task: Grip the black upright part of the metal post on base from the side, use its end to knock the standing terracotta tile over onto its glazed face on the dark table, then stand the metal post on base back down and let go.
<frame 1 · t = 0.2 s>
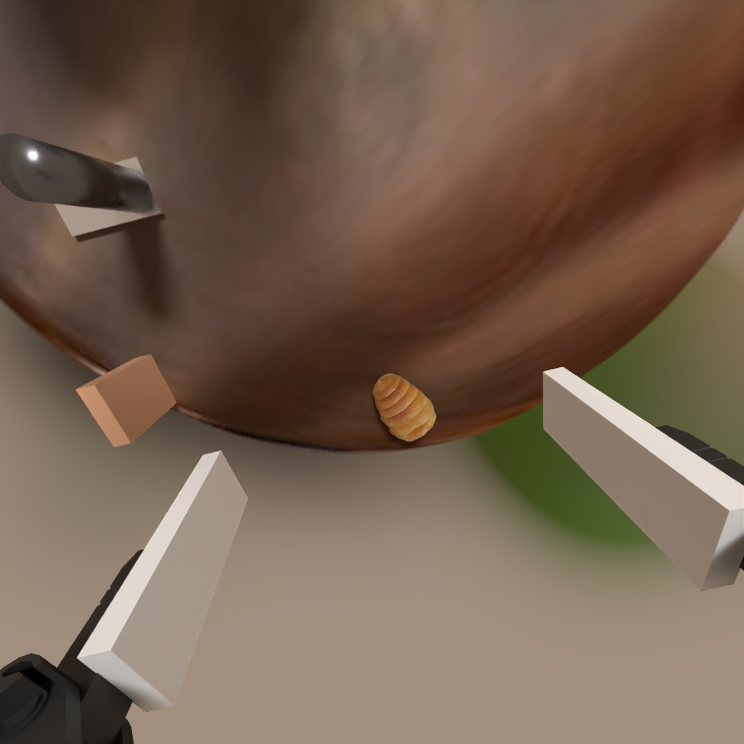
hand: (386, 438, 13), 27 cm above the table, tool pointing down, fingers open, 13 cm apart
tile: (157, 381, 41), on the table
pastry: (401, 404, 44), on the table
metal post on base: (134, 191, 33), on the table
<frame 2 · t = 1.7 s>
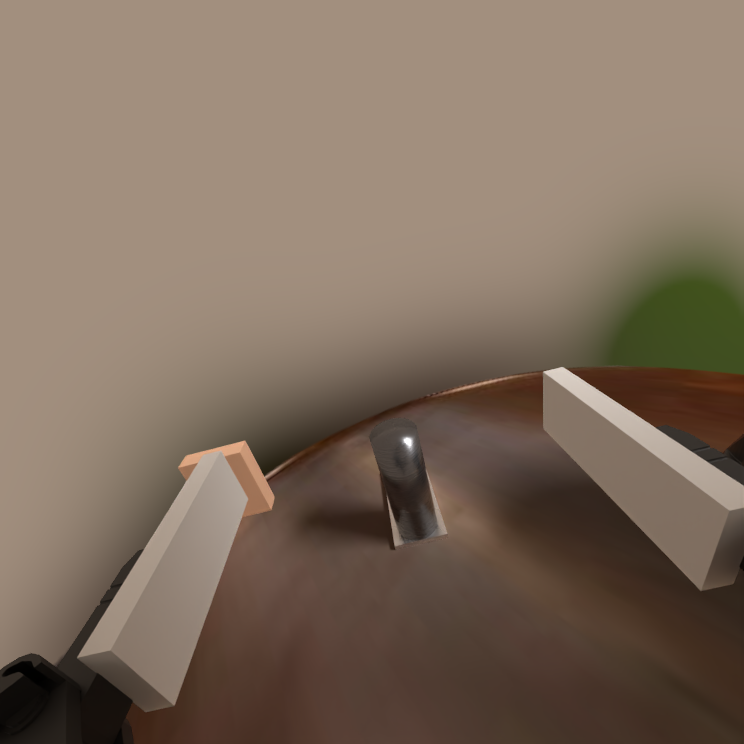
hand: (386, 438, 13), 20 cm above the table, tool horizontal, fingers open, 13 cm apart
tile: (245, 510, 39), on the table
metal post on base: (417, 525, 31), on the table
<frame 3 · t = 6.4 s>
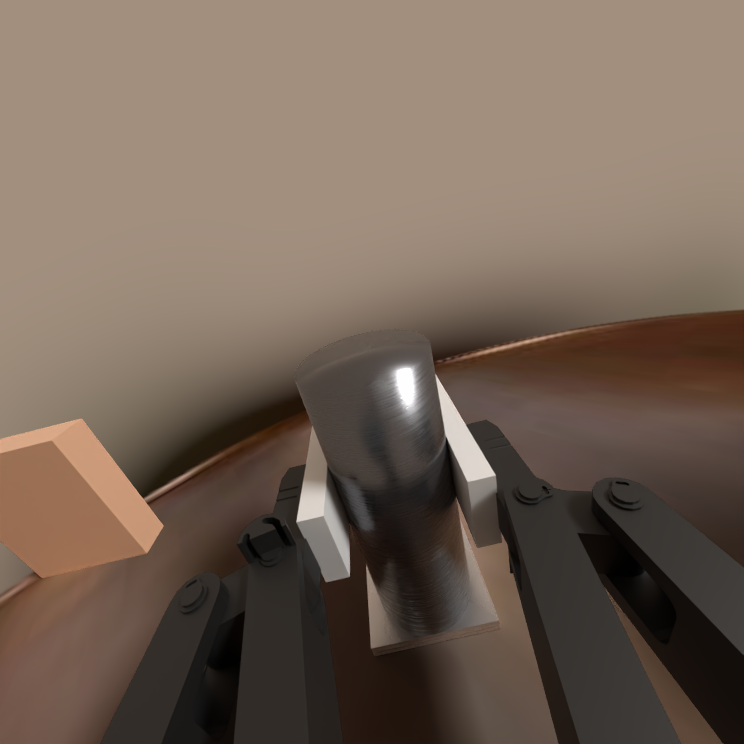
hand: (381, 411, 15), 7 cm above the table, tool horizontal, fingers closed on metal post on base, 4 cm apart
tile: (105, 551, 21), on the table
metal post on base: (425, 589, 14), on the table, touching gripper
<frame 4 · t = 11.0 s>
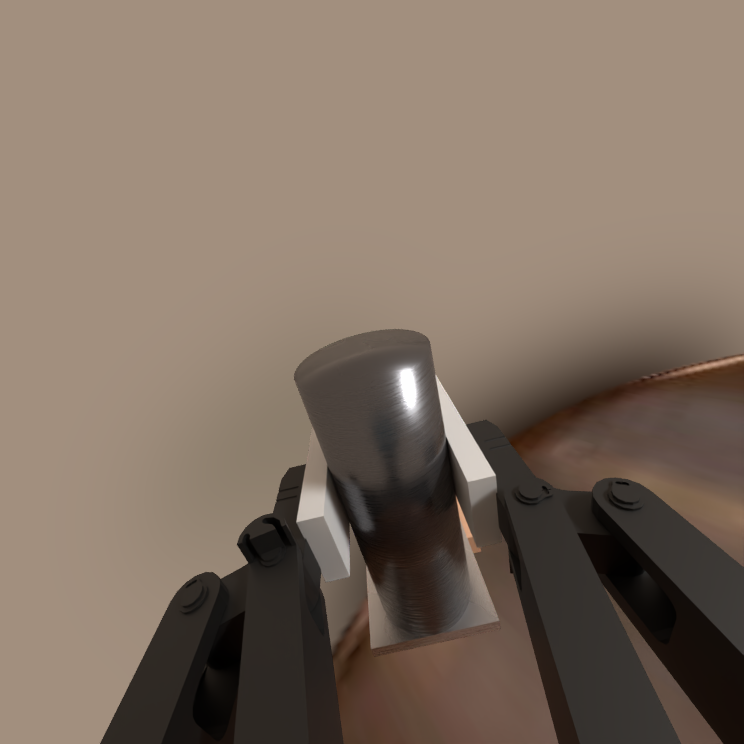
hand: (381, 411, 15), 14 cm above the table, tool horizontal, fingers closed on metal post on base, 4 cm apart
metal post on base: (425, 589, 14), point 7 cm above the table, touching gripper
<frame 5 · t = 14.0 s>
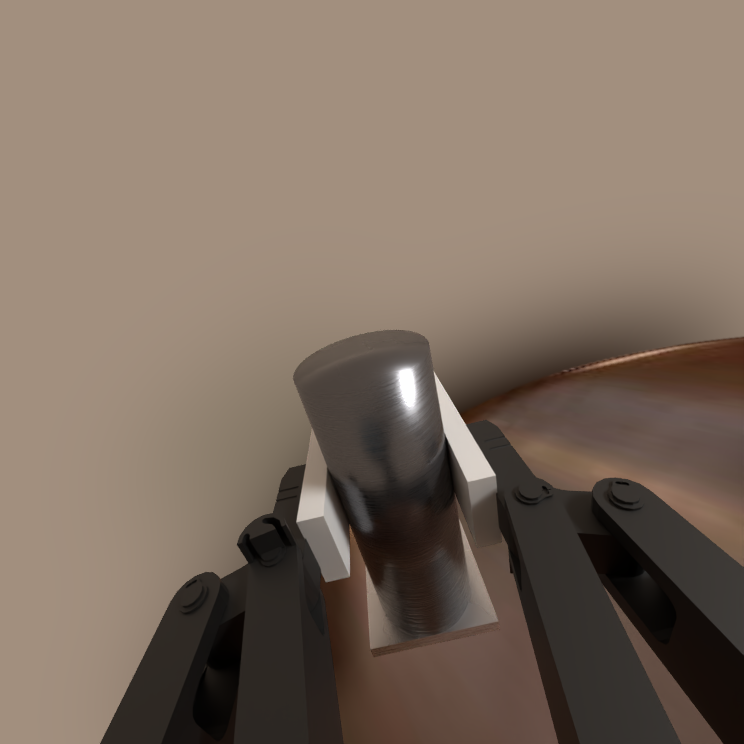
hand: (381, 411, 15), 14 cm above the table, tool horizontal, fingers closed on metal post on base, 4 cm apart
metal post on base: (424, 589, 14), point 7 cm above the table, touching gripper
when the fingers open (8 cm above the table, at t = 16.6 s): metal post on base drops 1 cm, on the table.
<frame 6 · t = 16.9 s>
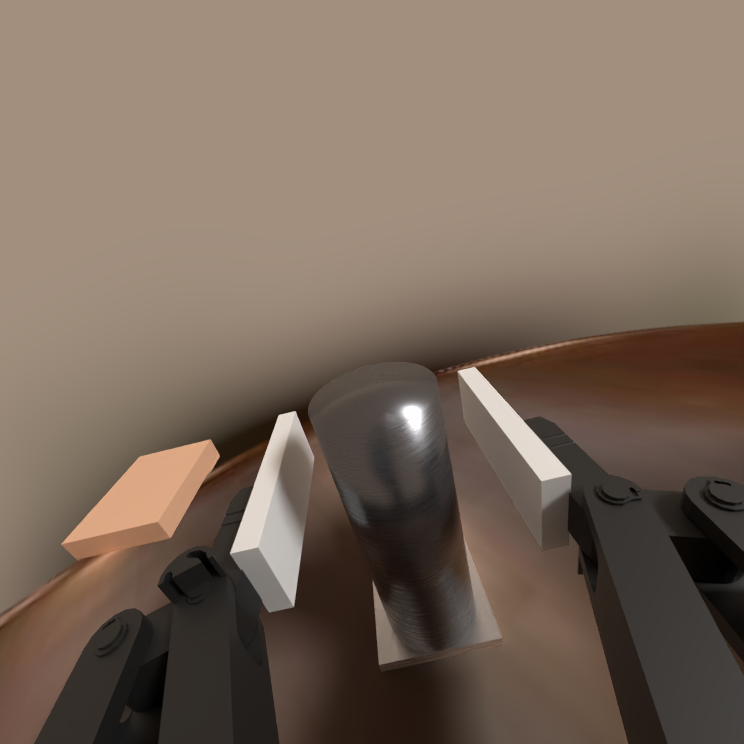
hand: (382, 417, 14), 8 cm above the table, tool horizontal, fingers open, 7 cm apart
tile: (117, 542, 22), point 1 cm above the table, tilted 90°
metal post on base: (430, 605, 15), on the table
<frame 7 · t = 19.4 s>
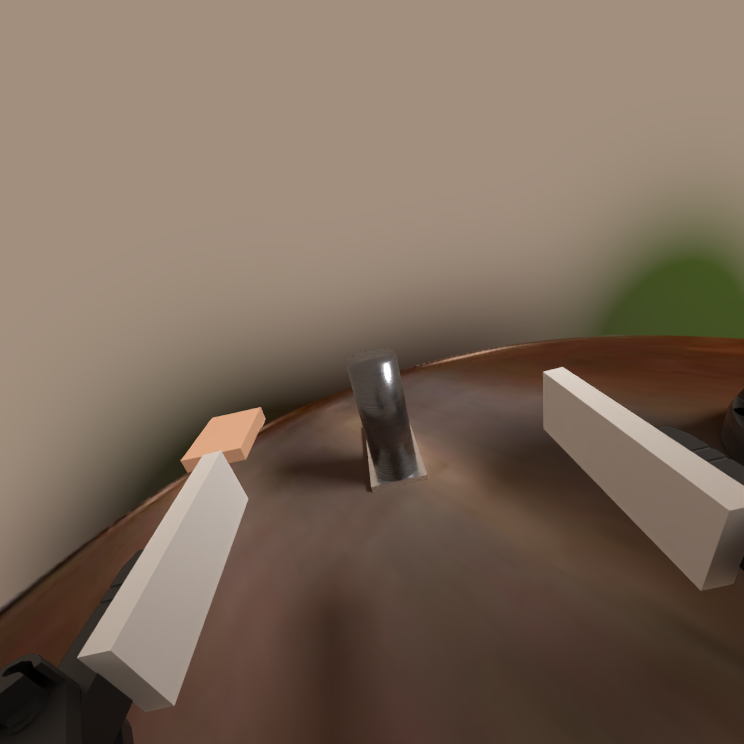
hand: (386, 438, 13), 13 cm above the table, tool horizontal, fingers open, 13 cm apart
tile: (214, 461, 36), point 1 cm above the table, tilted 90°
metal post on base: (396, 470, 30), on the table
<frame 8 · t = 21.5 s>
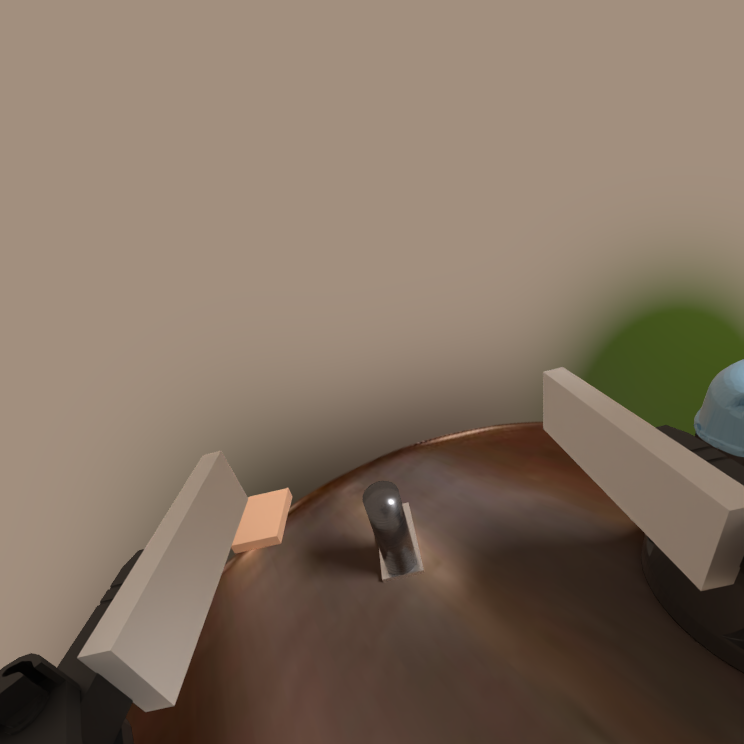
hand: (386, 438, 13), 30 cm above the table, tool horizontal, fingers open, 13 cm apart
tile: (256, 545, 46), point 1 cm above the table, tilted 90°
metal post on base: (401, 561, 39), on the table
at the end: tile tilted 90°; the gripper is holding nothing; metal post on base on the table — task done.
